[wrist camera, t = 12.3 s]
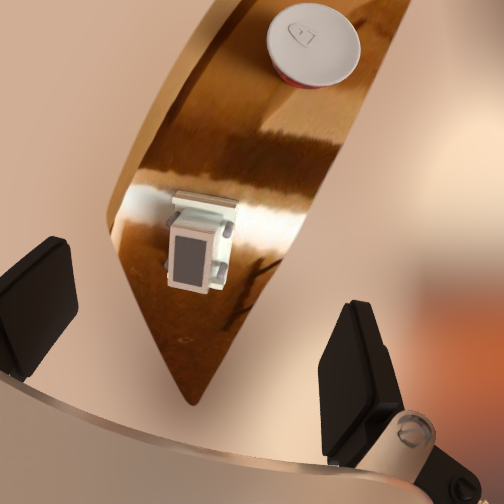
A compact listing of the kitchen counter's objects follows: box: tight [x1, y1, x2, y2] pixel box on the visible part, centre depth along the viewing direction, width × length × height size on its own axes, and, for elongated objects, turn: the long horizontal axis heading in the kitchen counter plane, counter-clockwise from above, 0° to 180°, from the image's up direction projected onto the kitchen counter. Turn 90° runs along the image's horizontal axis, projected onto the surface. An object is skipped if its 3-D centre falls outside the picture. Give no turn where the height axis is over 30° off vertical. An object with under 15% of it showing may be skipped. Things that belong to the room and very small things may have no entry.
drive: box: [168, 208, 224, 294], centre depth 39 cm, size 8×5×6 cm, turn 170°
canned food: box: [267, 3, 361, 89], centre depth 26 cm, size 8×8×11 cm
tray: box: [164, 190, 239, 290], centre depth 41 cm, size 12×8×4 cm, turn 170°
